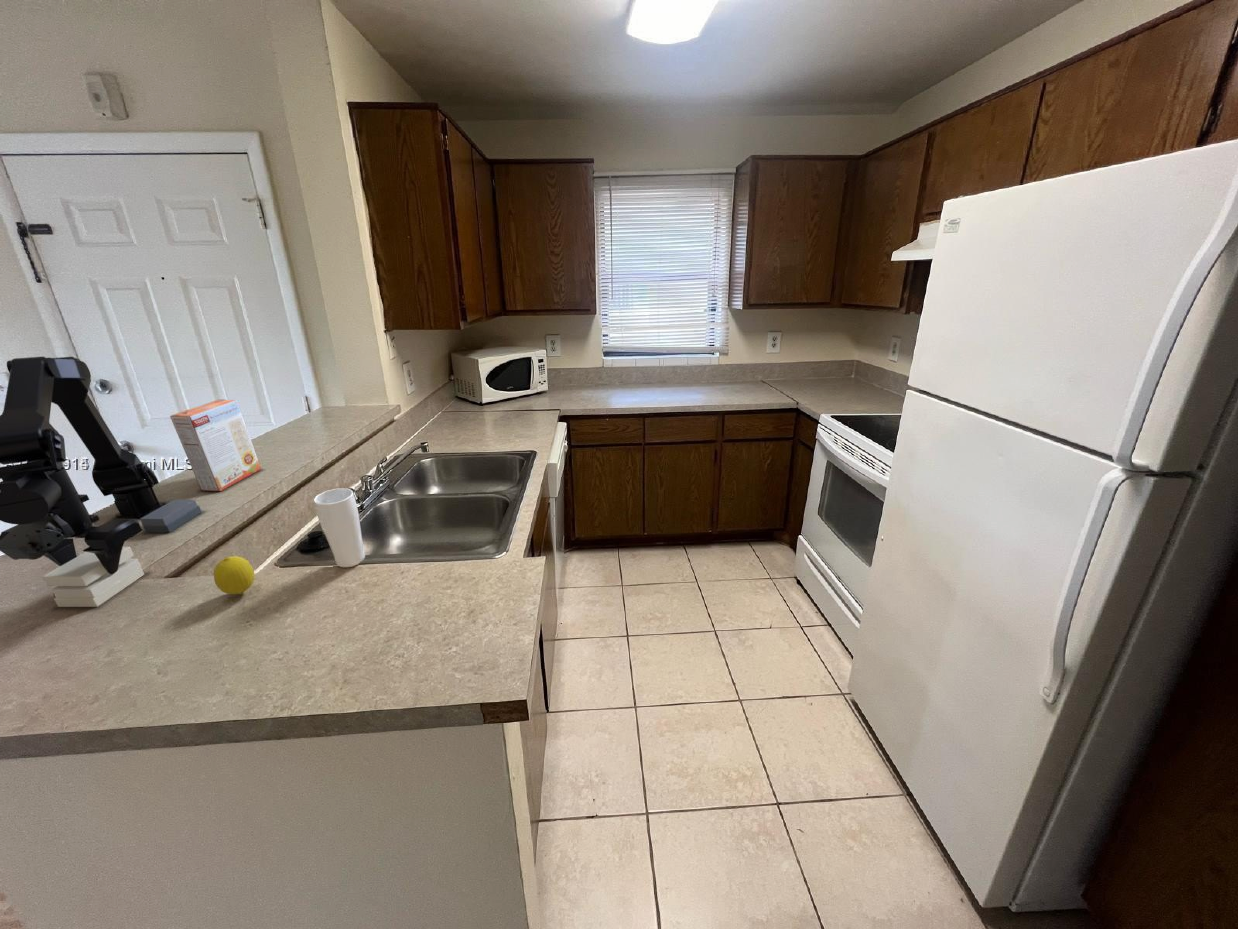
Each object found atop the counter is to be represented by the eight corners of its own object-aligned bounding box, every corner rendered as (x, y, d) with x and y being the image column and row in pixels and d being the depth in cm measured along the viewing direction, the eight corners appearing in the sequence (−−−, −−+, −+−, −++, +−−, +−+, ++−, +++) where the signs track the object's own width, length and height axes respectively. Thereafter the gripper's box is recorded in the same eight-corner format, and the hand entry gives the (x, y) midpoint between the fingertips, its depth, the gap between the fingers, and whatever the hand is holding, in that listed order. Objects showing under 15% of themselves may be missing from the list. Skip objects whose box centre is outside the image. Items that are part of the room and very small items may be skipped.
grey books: (180, 512, 113) (174, 499, 112) (202, 512, 113) (196, 499, 112) (145, 532, 105) (139, 518, 103) (169, 532, 105) (163, 518, 103)
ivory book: (99, 555, 89) (94, 546, 89) (134, 555, 90) (130, 546, 89) (47, 586, 81) (41, 576, 80) (86, 586, 81) (80, 576, 80)
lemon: (219, 607, 83) (203, 570, 80) (226, 589, 88) (211, 553, 84) (257, 597, 86) (243, 561, 82) (262, 580, 90) (248, 545, 87)
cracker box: (243, 468, 136) (218, 398, 127) (262, 469, 135) (239, 399, 126) (198, 491, 123) (167, 414, 114) (220, 492, 122) (190, 415, 114)
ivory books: (109, 574, 91) (101, 558, 90) (145, 574, 91) (137, 558, 90) (58, 607, 83) (48, 590, 81) (97, 607, 83) (88, 590, 82)
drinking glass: (344, 575, 92) (325, 508, 86) (325, 564, 95) (305, 498, 89) (376, 557, 97) (360, 493, 91) (357, 547, 100) (341, 484, 94)
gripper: (-68, 522, 72) (-12, 603, 78) (57, 522, 72) (102, 603, 78) (17, 488, 82) (60, 562, 88) (126, 488, 82) (161, 562, 89)
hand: (94, 572), depth 86 cm, fingers closed on ivory book, 7 cm apart
